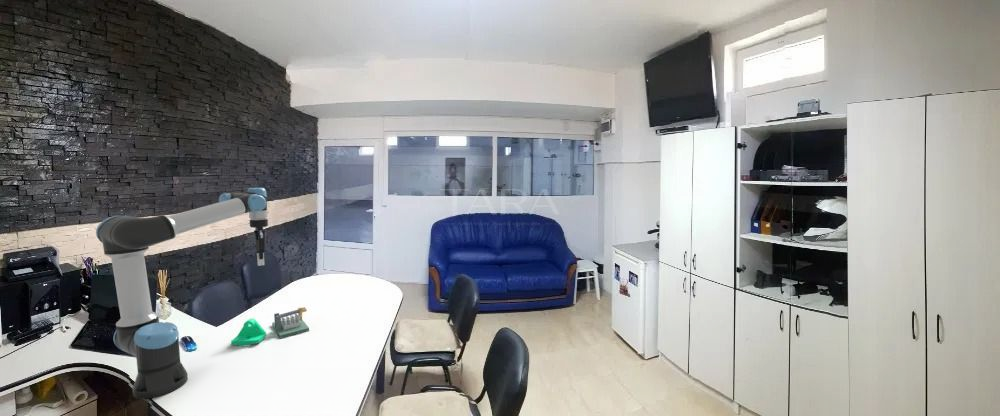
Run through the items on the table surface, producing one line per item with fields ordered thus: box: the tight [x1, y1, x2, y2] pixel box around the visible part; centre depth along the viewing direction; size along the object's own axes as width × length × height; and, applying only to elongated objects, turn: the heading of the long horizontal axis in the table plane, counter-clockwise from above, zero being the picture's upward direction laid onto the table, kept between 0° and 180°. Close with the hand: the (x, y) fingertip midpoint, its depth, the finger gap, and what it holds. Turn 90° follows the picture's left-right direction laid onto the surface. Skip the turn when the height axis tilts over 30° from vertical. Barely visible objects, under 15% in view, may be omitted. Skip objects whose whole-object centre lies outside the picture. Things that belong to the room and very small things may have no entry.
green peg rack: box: [271, 306, 310, 339], centre depth 185 cm, size 19×13×9 cm
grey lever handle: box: [275, 307, 308, 319], centre depth 185 cm, size 4×14×2 cm, turn 133°
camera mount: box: [230, 318, 267, 347], centre depth 169 cm, size 12×8×10 cm, turn 100°
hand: (261, 265), depth 178 cm, fingers closed
